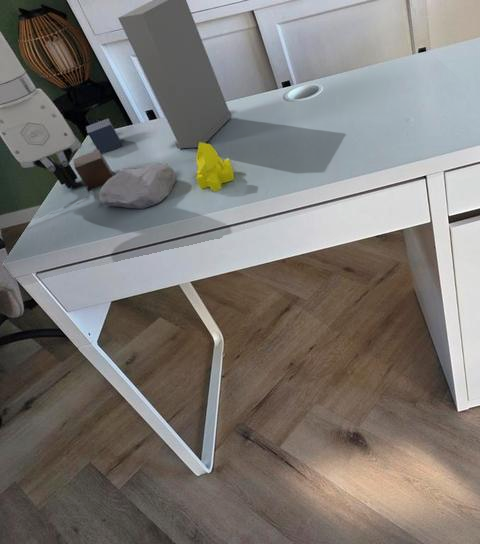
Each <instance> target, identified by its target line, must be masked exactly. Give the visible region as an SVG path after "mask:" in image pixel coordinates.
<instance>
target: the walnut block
mask: <svg viewBox="0 0 480 544" xmlns="http://www.w3.org/2000/svg"><path fill="white" fill-rule="evenodd" d="M73 166H74V170H75V171H76V174H77V175H78V176H79V177H80V179H81V181H82V182H83V183H84V185H85V187H86V188H87V189H88V191H89V192H90V191H92V190H95V189H97V188H100V187H102V186H103V185H104V184H105V183H106V182H107V181H108V179H110V178H111V177H113V176H114V172H113V170H112V169H111V167H110V165H109V164H108V162H107V160H106V159H105V157H104V155H103V153H102V154H101V152H100V150H97V149H96V150H94V151H91V152H88V153H86V154H84V155H80V156H78V157H76V158H73Z"/></svg>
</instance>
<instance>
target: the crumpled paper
mask: <svg viewBox="0 0 480 544" xmlns="http://www.w3.org/2000/svg"><path fill="white" fill-rule="evenodd" d="M195 158H196V159H195V160H196V161H195V162H196V166H197V169H198V170H197V171H195V174H196V177H195V180H196V182H197V185H198V186H199V188H200V190H202V189H207V188H210V191H211V192H212V193H214V192H217V191H221V190H222V185H223V184H224V183H227V182H228V183H229V182H232V181H234V178H235V177H234V176H235V174H234V173H235V170H234V167H233V165H232V163H231V160H230V158H229V157H228V158H226V159H225V160H224V161H223V158H222V157H221V156H219V155H218V152H217V151H216V149H215V148H214V146H212V144H210V143H207V142H206V143H201V142H199V146H198V147H197V152H196V157H195Z"/></svg>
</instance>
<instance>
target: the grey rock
mask: <svg viewBox="0 0 480 544" xmlns="http://www.w3.org/2000/svg"><path fill="white" fill-rule="evenodd" d="M177 180H178V179H177V175H176V173H175V170H174V168H173V167H171V166H170V165H169V164H168V163H166V162H160V161H156V162H152V163H148V164H147V163H146V165H144V166H142V167H140V168H128V167H123V168H120V169H119V170H118V172H117V173H116V174H115V175H114V174H113V177H111V178H110V179H108V181H107V182H106V183H105V184H104V185H103V186H101V189H100V191H99V192H98V195H99V199H100V202H101V203H102V204H104V205H106V206H109V207H118V208H126V209H140V210H142V209H143V210H144V209H147V208H149V207H152V206H156V205H157V204H159V203H161V202H162V201H163V200H164V199H166V198H167V197H168V196H169V195H170V193H171V191H172V189H173V188H174V186H175V183H176V182H177Z"/></svg>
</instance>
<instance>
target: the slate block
mask: <svg viewBox="0 0 480 544" xmlns="http://www.w3.org/2000/svg"><path fill="white" fill-rule="evenodd" d="M85 129H86V132H87V135H88V136H89V138H90V139H91V142H92V143H93V145H94V146H95V149H96V150H100V152H101V154H102V155H103V154H105V153H107V152H110V151H113V150H115V149H118V148H120V147H123V146H122V145H123V143H122V140H121V138H120V136H119V134H118V133H117V131H116V130H115V129H116V128H115V127H114V125H113V124H112V122H111V120H110V118H108V117H107V118H106V119H103V120H100V121H98V122H94V123H92V124H89V125H87V126H85Z"/></svg>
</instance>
